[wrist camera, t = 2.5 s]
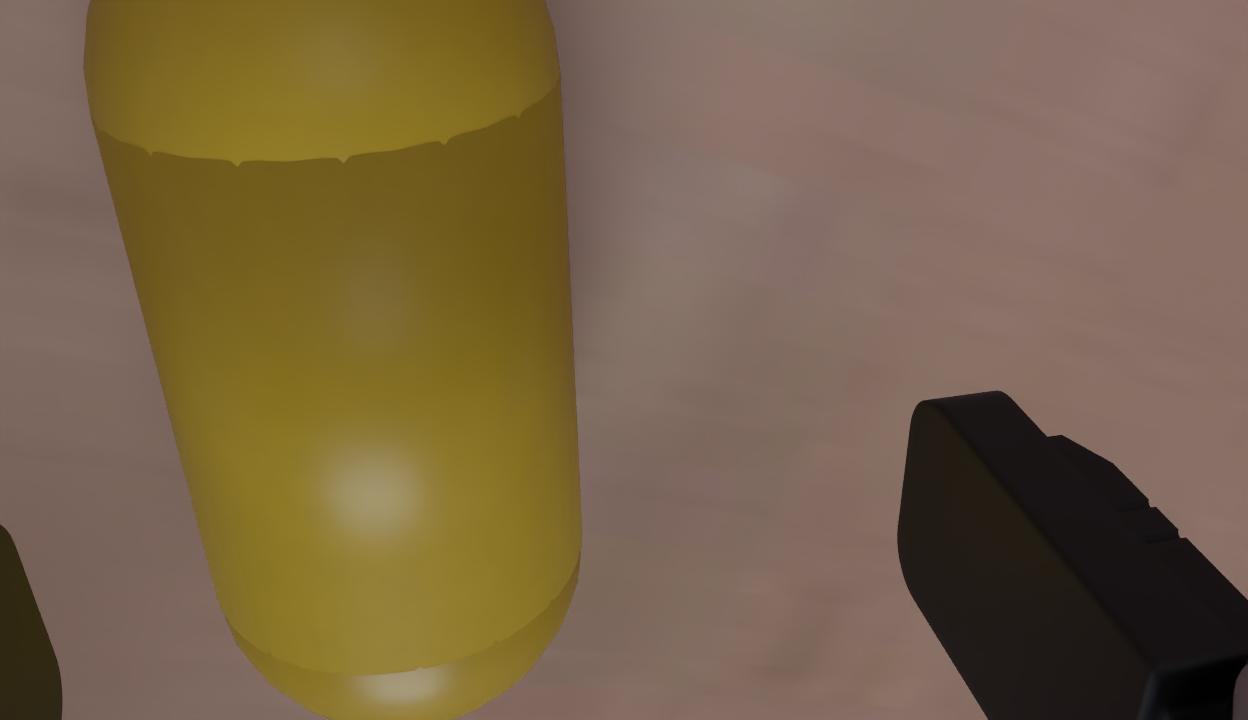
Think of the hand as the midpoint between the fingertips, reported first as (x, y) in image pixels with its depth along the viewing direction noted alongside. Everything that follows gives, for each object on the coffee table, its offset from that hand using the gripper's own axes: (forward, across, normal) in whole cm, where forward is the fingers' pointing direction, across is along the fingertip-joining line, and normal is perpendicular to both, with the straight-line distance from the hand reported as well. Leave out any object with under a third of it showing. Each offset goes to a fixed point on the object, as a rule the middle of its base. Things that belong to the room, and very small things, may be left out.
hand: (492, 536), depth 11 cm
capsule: (+6, 0, 0) cm, 6 cm away
